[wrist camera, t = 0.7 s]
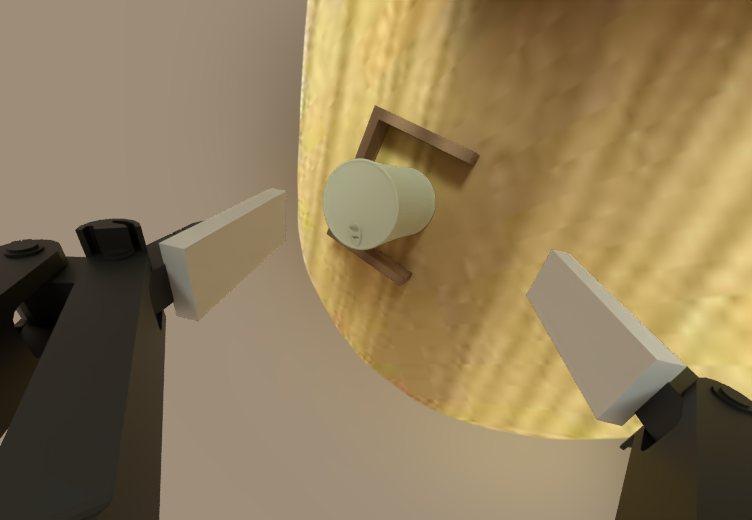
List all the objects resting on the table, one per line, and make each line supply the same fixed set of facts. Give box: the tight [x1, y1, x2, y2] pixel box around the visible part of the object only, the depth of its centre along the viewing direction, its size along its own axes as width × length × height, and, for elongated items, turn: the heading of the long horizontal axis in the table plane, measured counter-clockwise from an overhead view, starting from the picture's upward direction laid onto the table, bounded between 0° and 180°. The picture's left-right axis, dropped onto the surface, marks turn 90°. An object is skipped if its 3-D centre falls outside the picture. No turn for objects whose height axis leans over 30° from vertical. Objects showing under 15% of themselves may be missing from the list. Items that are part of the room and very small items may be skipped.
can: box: [323, 158, 435, 250], centre depth 32 cm, size 9×9×12 cm
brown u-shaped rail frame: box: [327, 105, 479, 286], centre depth 36 cm, size 14×18×3 cm
